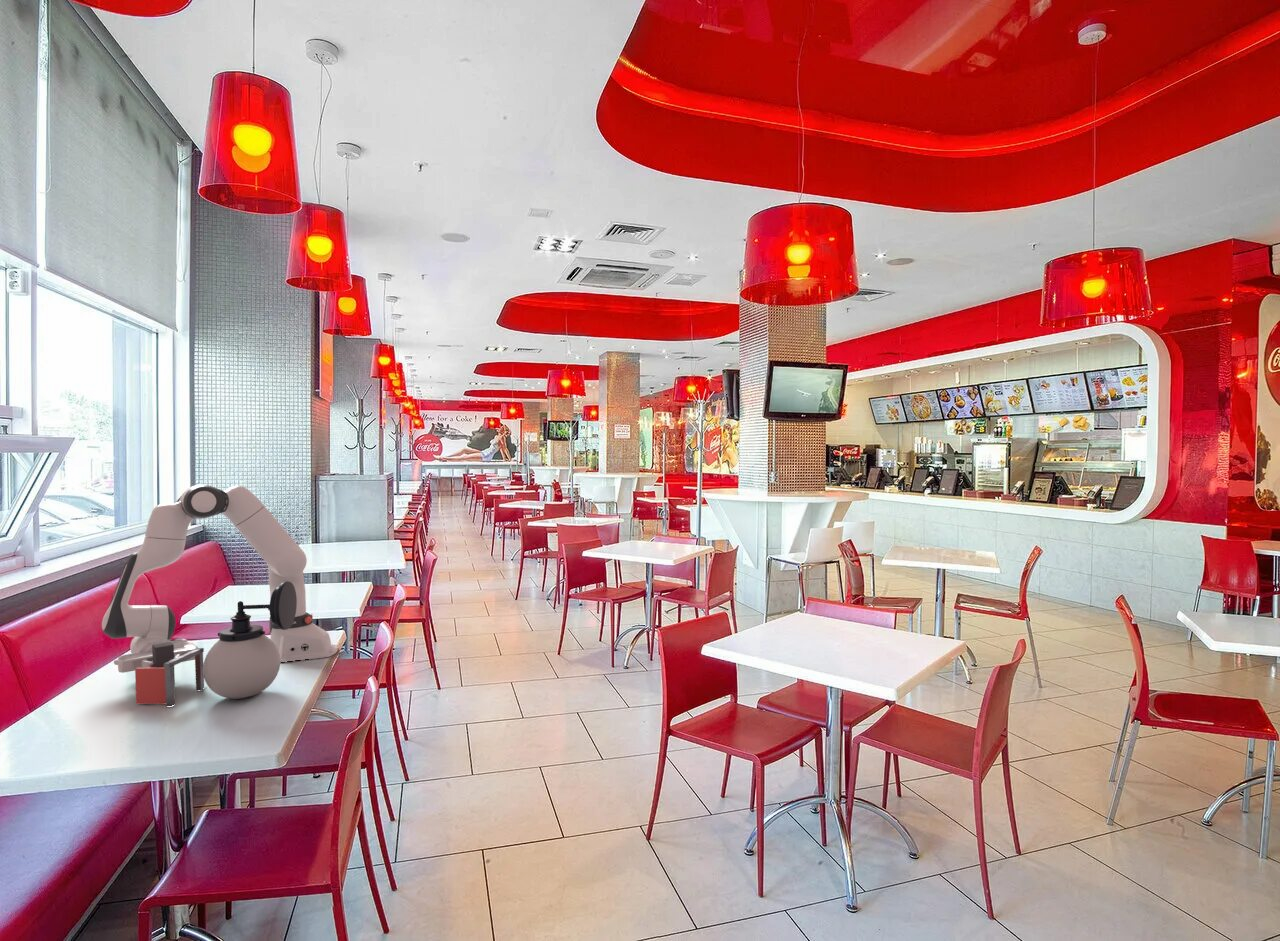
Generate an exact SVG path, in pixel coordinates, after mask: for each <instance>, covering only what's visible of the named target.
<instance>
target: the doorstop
mask: <svg viewBox="0 0 1280 941" xmlns="http://www.w3.org/2000/svg"><path fill="white" fill-rule="evenodd" d="M152 655H153V661H154V662H155V665H154V666H155V667H164V663H166V662H168V661H171V660H173V659H174V645H173V644H172V643H171V642H166V643H160V644H153V645H152ZM175 676H176V675H174V686H175V685H176V682H175V679H176V678H175Z"/></svg>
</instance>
